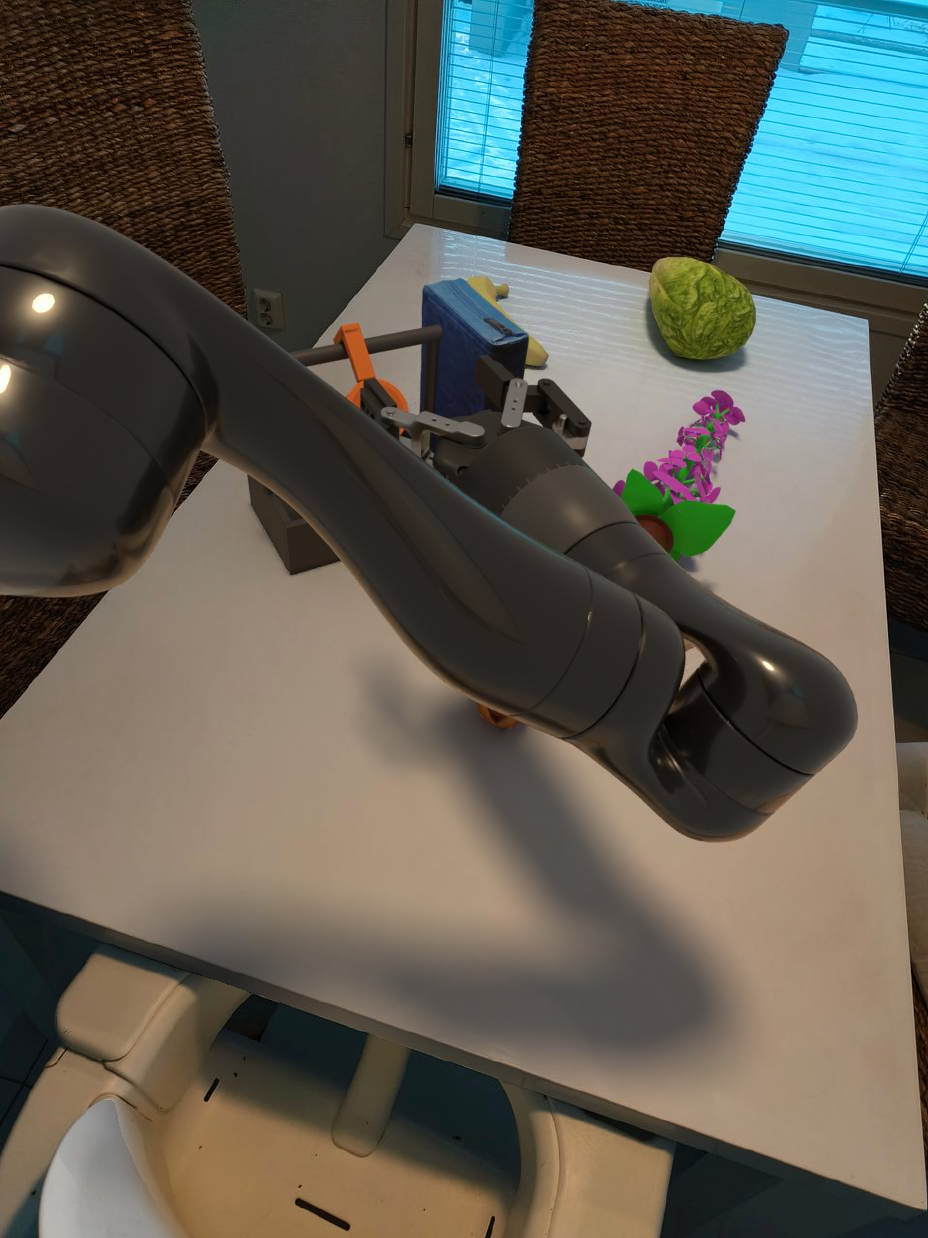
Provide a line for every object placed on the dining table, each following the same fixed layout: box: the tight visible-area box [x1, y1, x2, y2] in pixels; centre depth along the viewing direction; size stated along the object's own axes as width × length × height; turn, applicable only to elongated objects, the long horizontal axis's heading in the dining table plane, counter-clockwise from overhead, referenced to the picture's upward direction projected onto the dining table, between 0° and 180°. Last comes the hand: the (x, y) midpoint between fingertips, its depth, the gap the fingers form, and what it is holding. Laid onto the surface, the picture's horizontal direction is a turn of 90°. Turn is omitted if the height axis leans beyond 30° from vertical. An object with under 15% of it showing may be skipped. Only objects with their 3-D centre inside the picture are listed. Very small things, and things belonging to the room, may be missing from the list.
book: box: [418, 277, 530, 453], centre depth 88 cm, size 14×5×20 cm, turn 31°
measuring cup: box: [332, 322, 410, 435], centre depth 77 cm, size 10×6×9 cm
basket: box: [246, 325, 443, 576], centre depth 81 cm, size 18×12×20 cm, turn 119°
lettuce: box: [648, 256, 757, 361], centre depth 119 cm, size 12×24×13 cm
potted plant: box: [611, 389, 746, 564], centre depth 92 cm, size 12×16×35 cm
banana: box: [465, 275, 550, 367], centre depth 117 cm, size 14×6×20 cm
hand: (424, 378), depth 58 cm, fingers open, 8 cm apart
